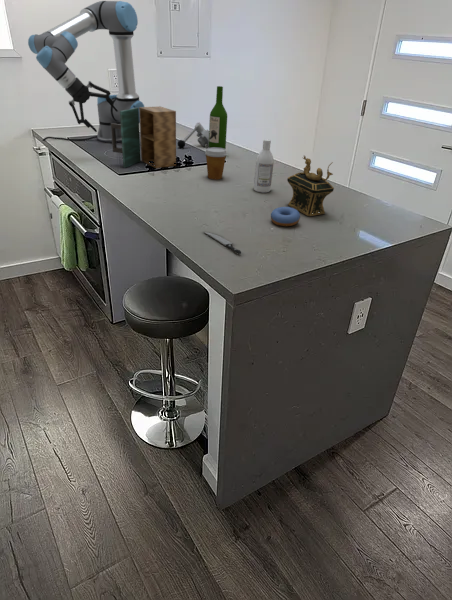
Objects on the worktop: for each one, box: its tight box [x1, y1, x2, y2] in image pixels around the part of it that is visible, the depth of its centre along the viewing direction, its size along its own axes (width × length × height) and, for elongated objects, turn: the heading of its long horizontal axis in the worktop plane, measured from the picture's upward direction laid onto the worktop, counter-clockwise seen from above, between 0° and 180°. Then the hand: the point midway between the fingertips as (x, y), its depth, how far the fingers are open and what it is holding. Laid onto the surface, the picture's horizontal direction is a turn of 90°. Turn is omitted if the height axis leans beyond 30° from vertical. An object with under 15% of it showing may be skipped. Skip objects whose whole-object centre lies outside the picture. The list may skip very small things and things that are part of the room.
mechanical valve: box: [177, 122, 209, 149], centre depth 239 cm, size 10×18×15 cm
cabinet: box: [139, 105, 177, 169], centre depth 199 cm, size 11×14×24 cm
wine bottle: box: [208, 85, 228, 150], centre depth 218 cm, size 9×9×32 cm
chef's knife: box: [204, 231, 242, 255], centre depth 131 cm, size 19×1×3 cm
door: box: [111, 108, 142, 169], centre depth 196 cm, size 7×14×24 cm, turn 160°
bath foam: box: [253, 138, 274, 194], centre depth 173 cm, size 7×7×20 cm
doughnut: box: [270, 206, 301, 227], centre depth 147 cm, size 10×10×5 cm
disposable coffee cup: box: [204, 147, 228, 181], centre depth 187 cm, size 10×10×12 cm
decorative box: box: [286, 155, 335, 217], centre depth 155 cm, size 20×10×20 cm, turn 28°
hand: (106, 120), depth 201 cm, fingers open, 13 cm apart
